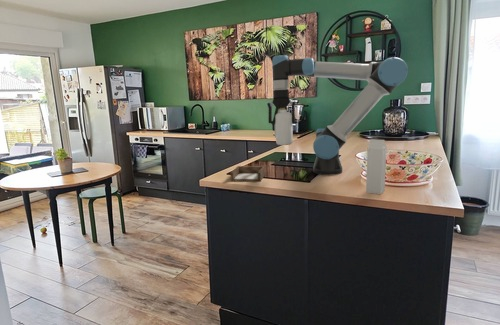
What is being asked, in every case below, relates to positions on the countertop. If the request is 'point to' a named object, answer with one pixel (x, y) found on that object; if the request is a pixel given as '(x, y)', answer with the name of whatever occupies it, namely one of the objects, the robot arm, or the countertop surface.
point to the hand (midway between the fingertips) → (282, 137)
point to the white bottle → (284, 127)
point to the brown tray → (248, 173)
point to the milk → (376, 166)
